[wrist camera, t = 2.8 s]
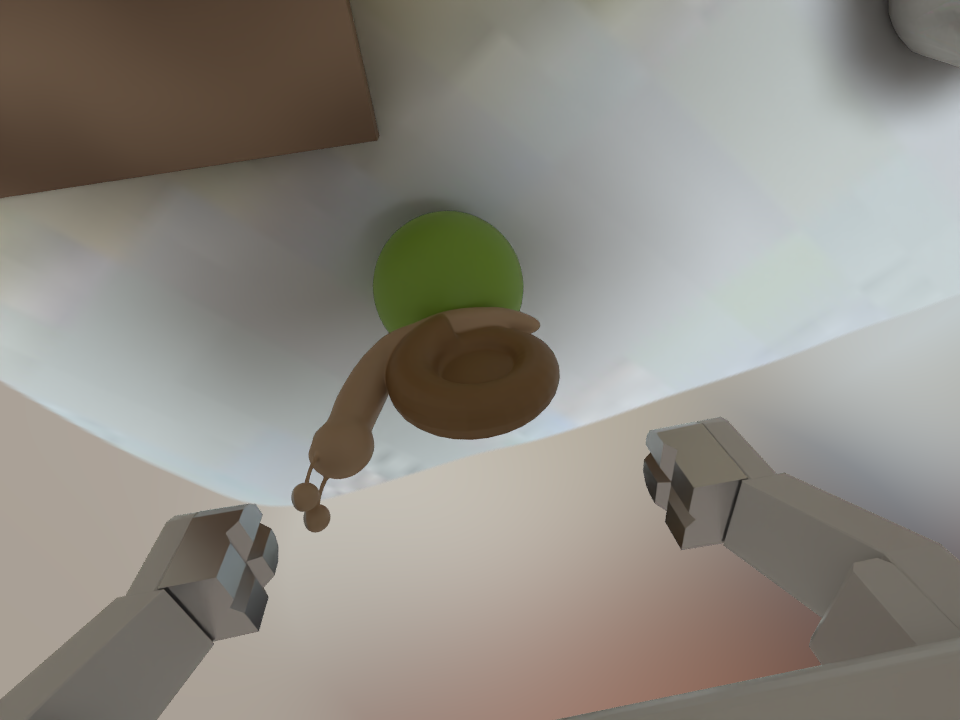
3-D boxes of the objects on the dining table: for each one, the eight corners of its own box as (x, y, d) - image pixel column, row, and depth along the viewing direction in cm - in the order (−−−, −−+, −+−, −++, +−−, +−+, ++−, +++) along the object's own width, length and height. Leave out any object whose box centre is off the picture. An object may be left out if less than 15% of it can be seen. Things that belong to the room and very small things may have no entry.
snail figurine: (336, 211, 17) (231, 416, 7) (501, 183, 17) (624, 344, 7) (373, 333, 20) (337, 595, 10) (513, 307, 20) (612, 540, 10)
